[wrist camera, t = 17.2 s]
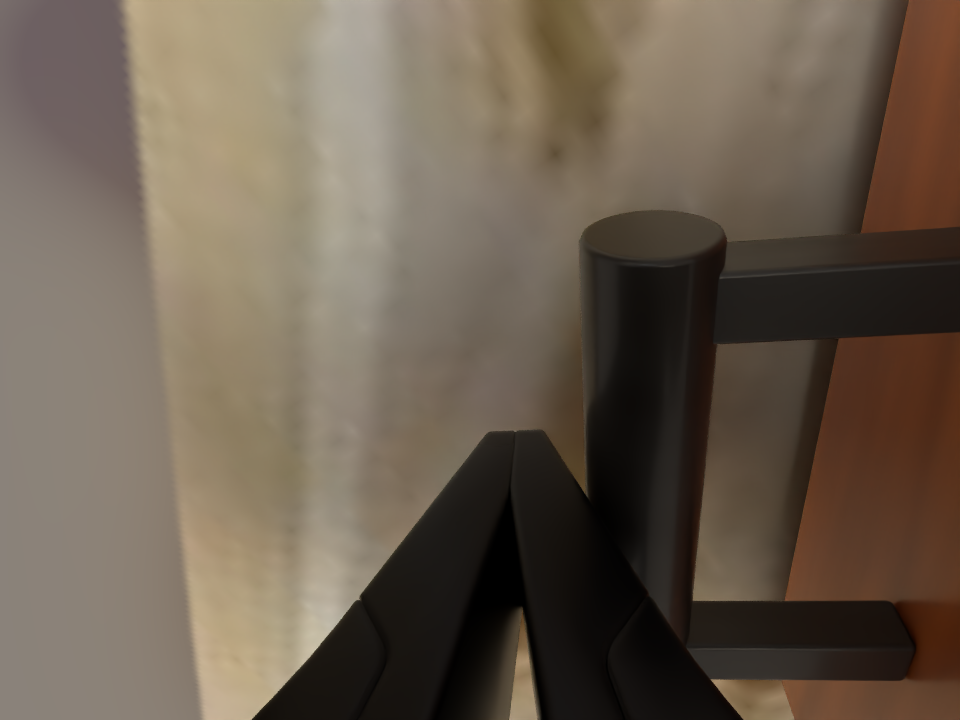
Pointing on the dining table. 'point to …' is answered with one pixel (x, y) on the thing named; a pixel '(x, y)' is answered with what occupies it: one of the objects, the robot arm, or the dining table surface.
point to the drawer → (845, 423)
